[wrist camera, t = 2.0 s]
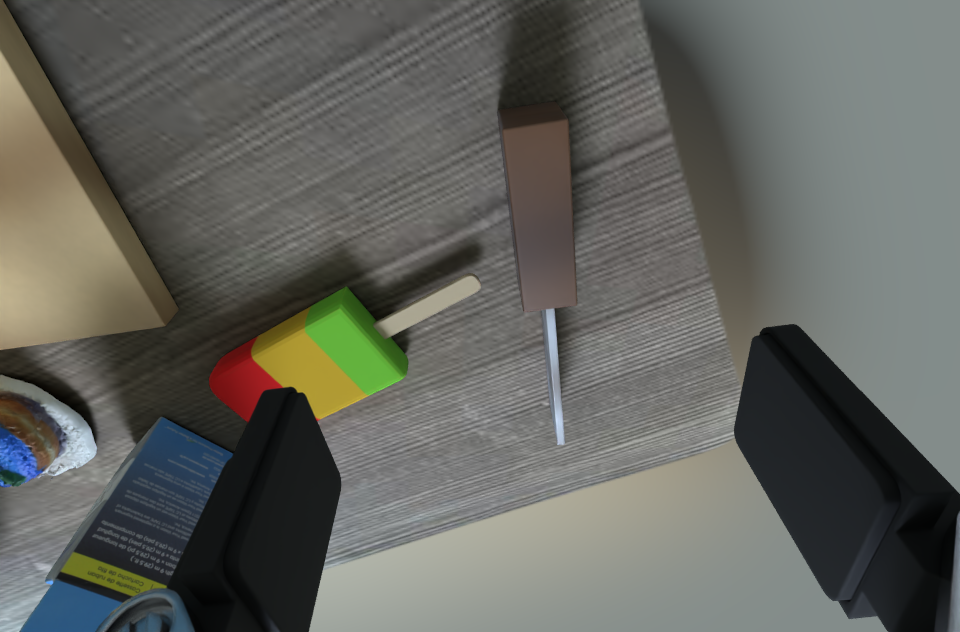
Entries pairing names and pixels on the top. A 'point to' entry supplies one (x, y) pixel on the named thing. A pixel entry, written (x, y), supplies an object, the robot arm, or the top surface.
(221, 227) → the top surface
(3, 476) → the dessert
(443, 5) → the top surface
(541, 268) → the knife
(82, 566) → the label tape box
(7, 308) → the cutting board
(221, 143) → the top surface
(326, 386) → the popsicle
